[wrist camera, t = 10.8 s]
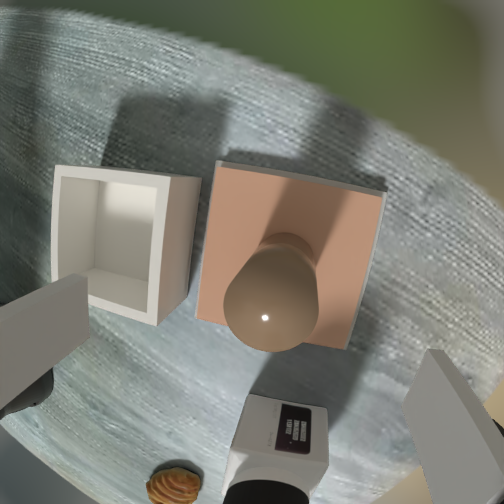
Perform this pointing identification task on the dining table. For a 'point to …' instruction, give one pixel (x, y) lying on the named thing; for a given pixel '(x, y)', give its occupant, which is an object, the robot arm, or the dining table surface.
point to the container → (276, 453)
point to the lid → (285, 259)
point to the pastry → (173, 486)
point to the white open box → (125, 236)
